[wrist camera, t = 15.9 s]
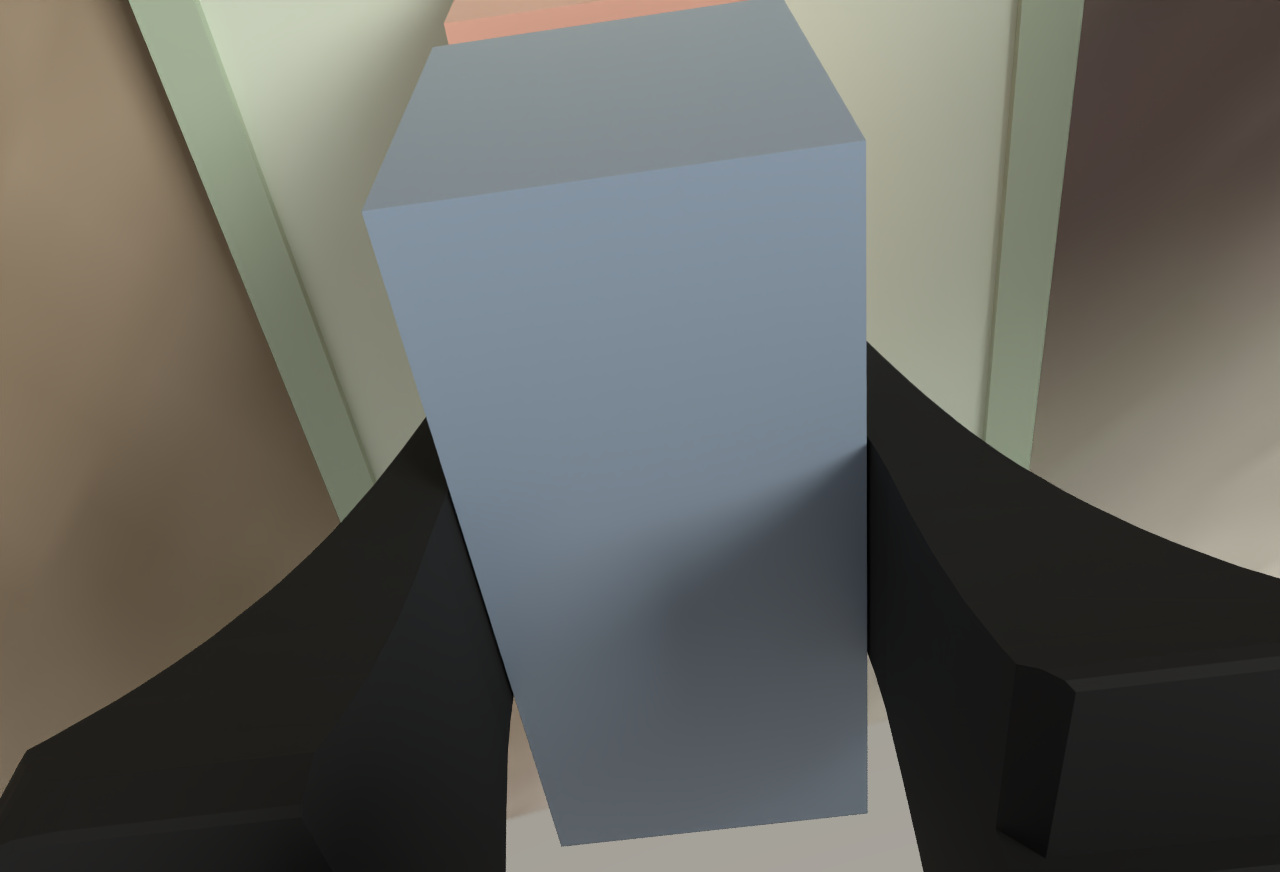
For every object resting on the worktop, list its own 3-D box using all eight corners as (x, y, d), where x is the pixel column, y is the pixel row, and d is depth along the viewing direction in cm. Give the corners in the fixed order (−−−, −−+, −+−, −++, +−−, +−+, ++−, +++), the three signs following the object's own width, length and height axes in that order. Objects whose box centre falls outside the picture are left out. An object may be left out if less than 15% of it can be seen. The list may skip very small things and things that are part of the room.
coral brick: (734, -94, 16) (776, -25, 12) (766, 389, 21) (802, 537, 18) (478, -56, 16) (444, 23, 12) (573, 413, 21) (569, 564, 18)
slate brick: (781, -5, 12) (865, 140, 8) (808, 570, 17) (867, 813, 13) (432, 47, 12) (360, 211, 8) (568, 599, 17) (561, 847, 14)
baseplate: (1112, -444, 14) (1137, -450, 13) (1014, 471, 23) (1026, 493, 23) (46, -267, 15) (21, -263, 14) (368, 552, 24) (362, 575, 24)
